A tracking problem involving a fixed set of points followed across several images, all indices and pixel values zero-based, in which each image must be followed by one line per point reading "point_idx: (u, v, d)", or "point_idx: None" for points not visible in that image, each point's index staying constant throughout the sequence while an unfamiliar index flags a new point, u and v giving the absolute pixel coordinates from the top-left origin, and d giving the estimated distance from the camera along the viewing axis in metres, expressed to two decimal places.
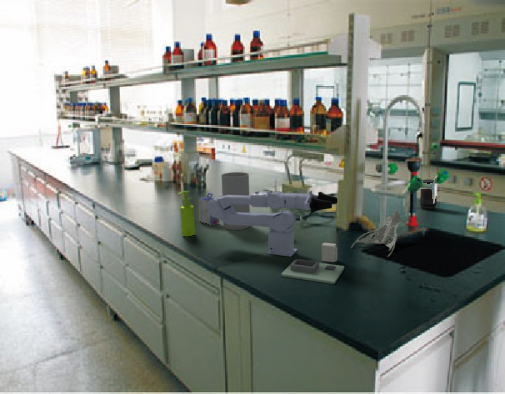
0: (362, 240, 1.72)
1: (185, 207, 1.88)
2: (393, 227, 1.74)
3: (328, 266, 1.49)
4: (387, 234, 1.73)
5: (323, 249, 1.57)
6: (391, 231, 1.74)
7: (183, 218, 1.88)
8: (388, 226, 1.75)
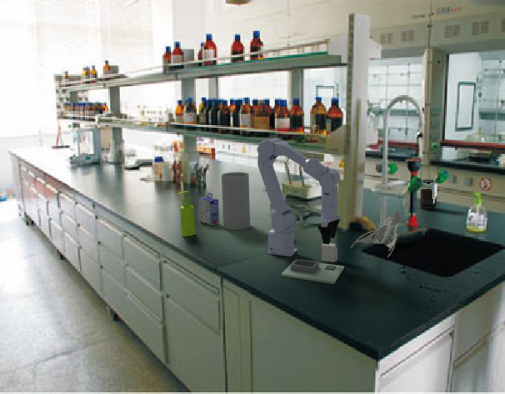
0: (362, 240, 1.72)
1: (185, 207, 1.88)
2: (393, 227, 1.74)
3: (328, 266, 1.49)
4: (387, 234, 1.73)
5: (323, 249, 1.57)
6: (391, 231, 1.74)
7: (183, 218, 1.88)
8: (388, 226, 1.75)
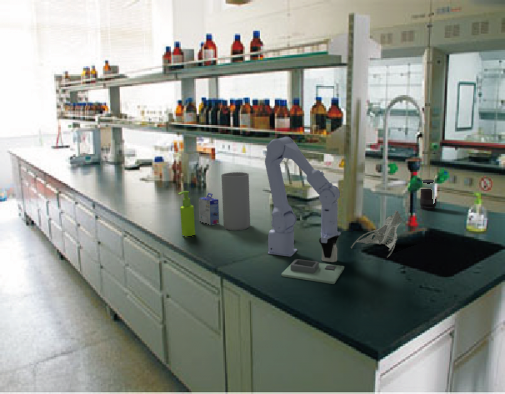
0: (362, 240, 1.72)
1: (185, 207, 1.88)
2: (393, 227, 1.74)
3: (328, 266, 1.49)
4: (387, 234, 1.73)
5: None
6: (391, 231, 1.74)
7: (183, 218, 1.88)
8: (388, 226, 1.75)
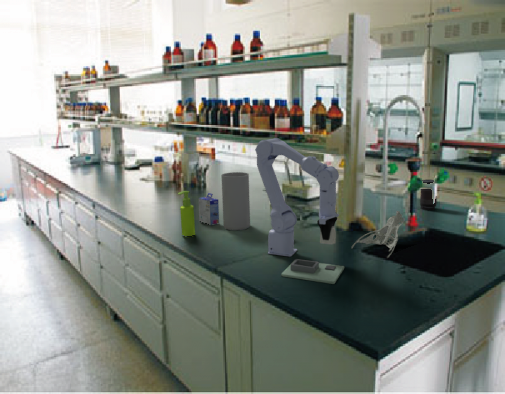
0: (363, 240, 1.72)
1: (185, 207, 1.88)
2: (395, 228, 1.73)
3: (328, 266, 1.49)
4: (388, 235, 1.72)
5: None
6: (392, 232, 1.73)
7: (183, 218, 1.88)
8: (390, 227, 1.74)
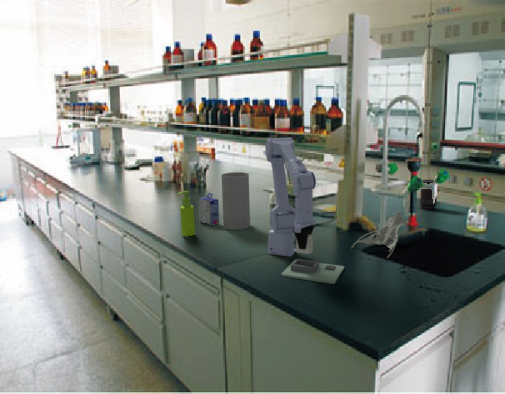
0: (363, 241, 1.71)
1: (185, 207, 1.88)
2: (395, 228, 1.73)
3: (328, 266, 1.49)
4: (388, 235, 1.72)
5: None
6: (393, 232, 1.73)
7: (183, 218, 1.88)
8: (390, 227, 1.74)
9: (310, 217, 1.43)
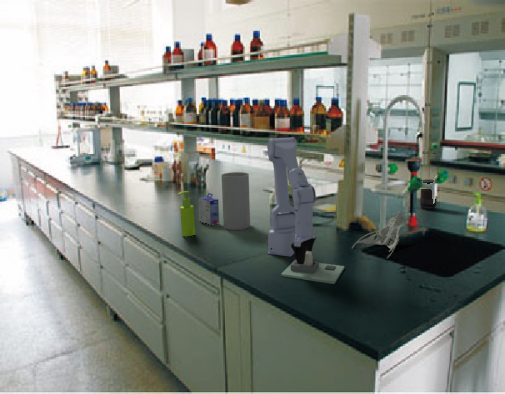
0: (363, 241, 1.71)
1: (185, 207, 1.88)
2: (396, 228, 1.72)
3: (328, 266, 1.49)
4: (389, 235, 1.72)
5: None
6: (394, 232, 1.72)
7: (183, 218, 1.88)
8: (391, 227, 1.73)
9: (310, 231, 1.44)
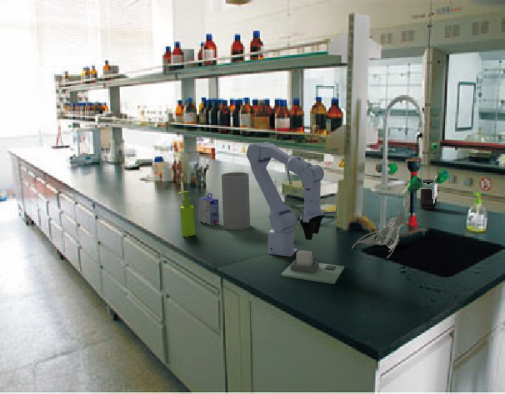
0: (363, 241, 1.71)
1: (185, 207, 1.88)
2: (396, 228, 1.72)
3: (328, 266, 1.49)
4: (390, 235, 1.72)
5: (298, 257, 1.47)
6: (394, 232, 1.72)
7: (183, 218, 1.88)
8: (391, 227, 1.73)
9: (318, 208, 1.52)
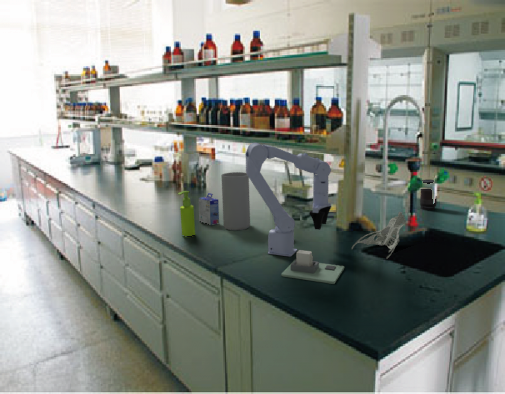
0: (363, 241, 1.71)
1: (185, 207, 1.88)
2: (396, 229, 1.72)
3: (328, 266, 1.49)
4: (390, 236, 1.71)
5: (298, 257, 1.47)
6: (394, 233, 1.72)
7: (183, 218, 1.88)
8: (391, 228, 1.73)
9: (326, 199, 1.63)
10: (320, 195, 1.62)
